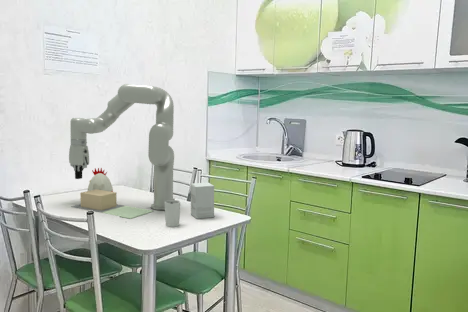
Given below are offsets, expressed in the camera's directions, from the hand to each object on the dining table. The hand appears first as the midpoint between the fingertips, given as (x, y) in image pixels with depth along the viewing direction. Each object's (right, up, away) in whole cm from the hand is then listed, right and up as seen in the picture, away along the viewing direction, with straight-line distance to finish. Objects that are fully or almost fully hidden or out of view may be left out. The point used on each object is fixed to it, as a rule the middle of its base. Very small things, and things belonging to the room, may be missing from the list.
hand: (78, 178), depth 207 cm
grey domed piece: (+2, -10, +28) cm, 30 cm away
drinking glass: (+53, -18, -32) cm, 64 cm away
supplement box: (+64, -17, -17) cm, 68 cm away
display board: (+19, -15, -9) cm, 26 cm away
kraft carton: (+12, -14, -5) cm, 19 cm away
